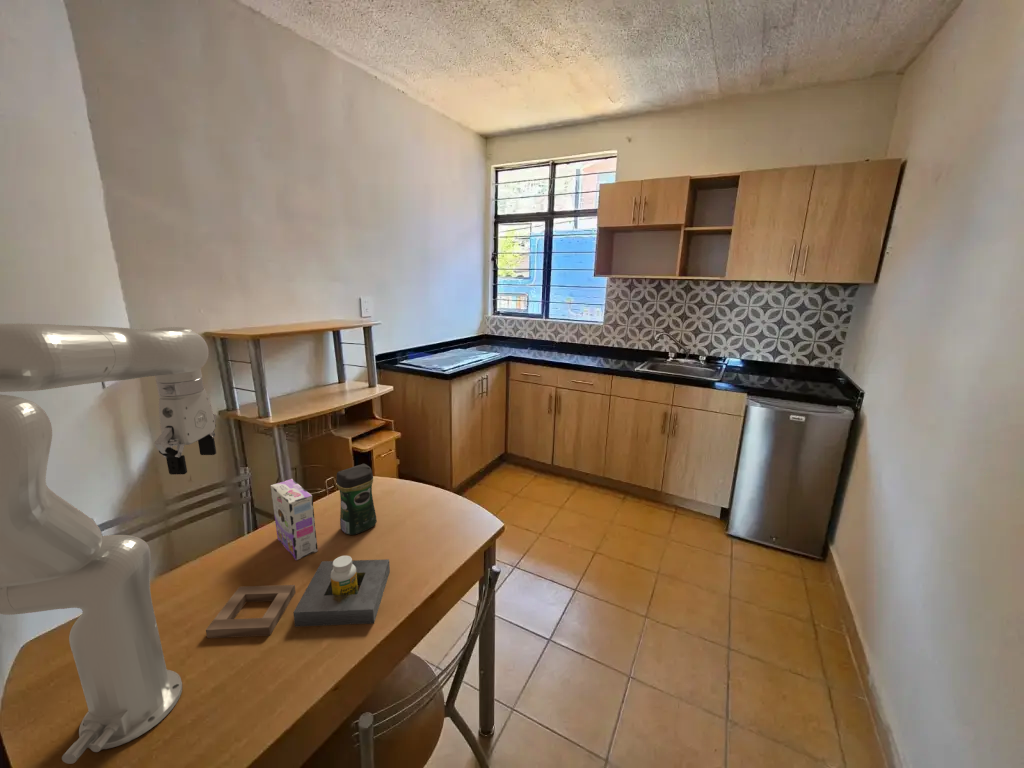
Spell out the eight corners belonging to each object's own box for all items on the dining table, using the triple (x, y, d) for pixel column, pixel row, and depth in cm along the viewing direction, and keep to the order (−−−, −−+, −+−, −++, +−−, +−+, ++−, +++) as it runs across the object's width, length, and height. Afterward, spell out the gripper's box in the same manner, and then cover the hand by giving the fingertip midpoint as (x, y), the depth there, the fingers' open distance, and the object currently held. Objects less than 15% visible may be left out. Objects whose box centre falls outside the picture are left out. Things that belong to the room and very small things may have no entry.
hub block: (374, 623, 87) (373, 609, 86) (295, 626, 86) (293, 612, 85) (389, 571, 102) (389, 559, 102) (323, 573, 101) (321, 561, 100)
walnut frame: (270, 635, 83) (268, 627, 83) (207, 638, 82) (205, 629, 82) (295, 592, 95) (294, 584, 95) (240, 594, 94) (239, 586, 94)
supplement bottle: (351, 585, 98) (348, 550, 95) (362, 597, 94) (360, 560, 92) (328, 598, 94) (324, 561, 91) (339, 610, 90) (336, 572, 88)
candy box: (319, 551, 109) (313, 495, 106) (295, 561, 105) (288, 503, 101) (298, 530, 119) (292, 477, 115) (276, 538, 114) (269, 484, 110)
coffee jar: (367, 515, 127) (363, 458, 122) (380, 525, 122) (377, 467, 117) (336, 528, 120) (330, 468, 115) (349, 539, 115) (344, 478, 110)
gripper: (170, 399, 78) (185, 482, 82) (224, 378, 95) (235, 448, 99) (127, 399, 77) (144, 482, 81) (190, 378, 94) (201, 448, 98)
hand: (194, 463), depth 90 cm, fingers open, 9 cm apart
